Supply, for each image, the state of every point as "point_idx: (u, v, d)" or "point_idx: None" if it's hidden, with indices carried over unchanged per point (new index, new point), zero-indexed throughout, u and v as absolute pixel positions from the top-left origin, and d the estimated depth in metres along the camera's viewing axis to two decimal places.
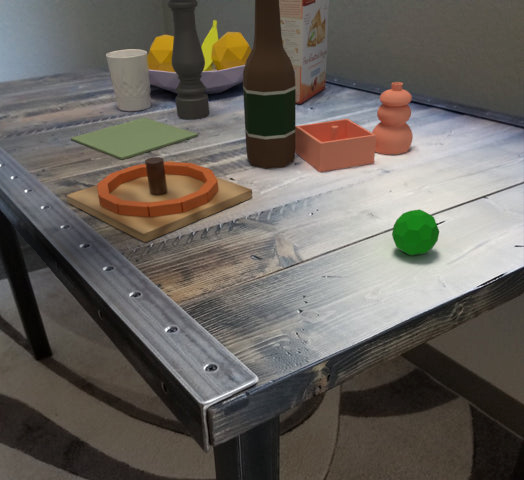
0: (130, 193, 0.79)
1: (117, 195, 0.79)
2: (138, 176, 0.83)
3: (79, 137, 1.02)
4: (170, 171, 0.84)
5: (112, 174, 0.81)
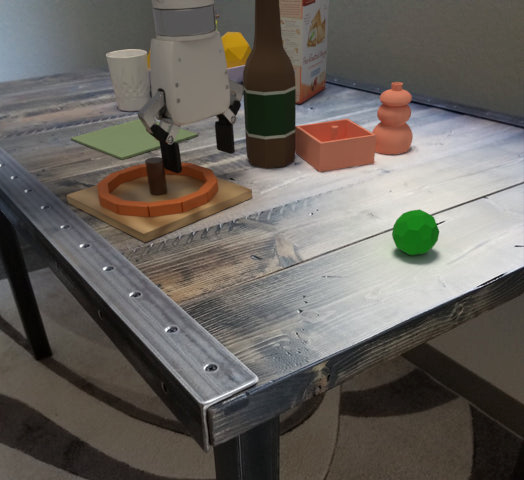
0: (130, 193, 0.79)
1: (117, 195, 0.79)
2: (138, 176, 0.83)
3: (79, 137, 1.02)
4: (170, 171, 0.84)
5: (112, 174, 0.81)
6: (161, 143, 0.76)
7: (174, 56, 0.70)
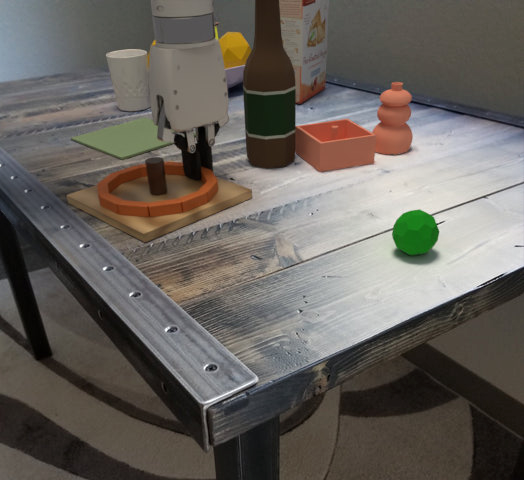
0: (130, 193, 0.79)
1: (117, 195, 0.79)
2: (138, 176, 0.83)
3: (79, 137, 1.02)
4: (170, 171, 0.84)
5: (112, 174, 0.81)
6: None
7: (173, 63, 0.70)
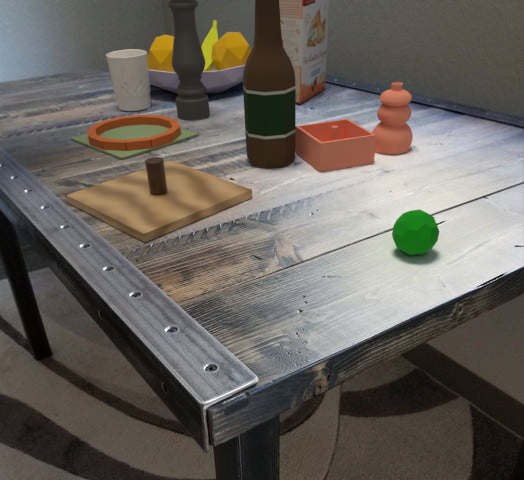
0: (130, 193, 0.79)
1: (117, 195, 0.79)
2: (120, 125, 1.06)
3: (79, 137, 1.02)
4: (145, 122, 1.07)
5: (99, 122, 1.04)
6: None
7: None
